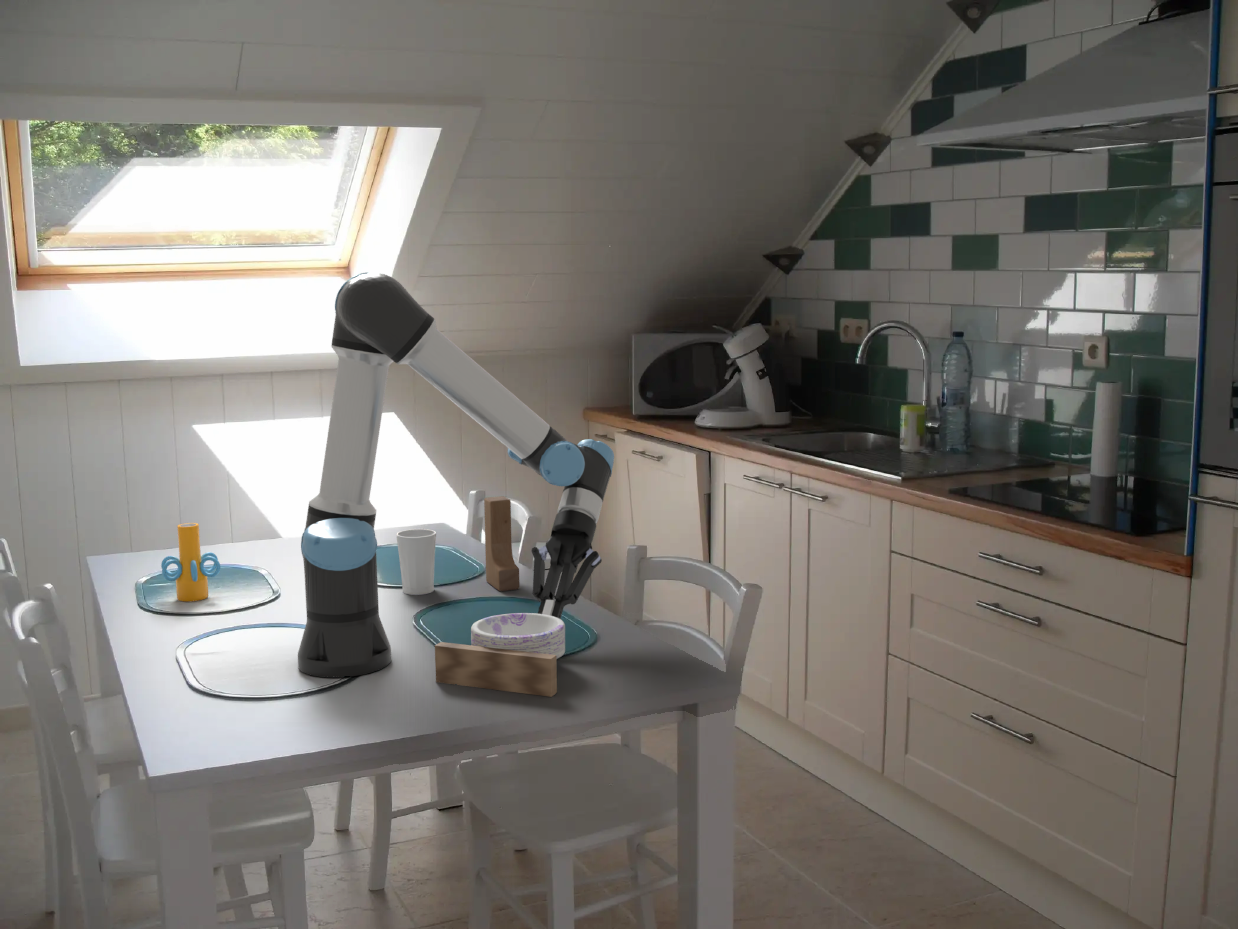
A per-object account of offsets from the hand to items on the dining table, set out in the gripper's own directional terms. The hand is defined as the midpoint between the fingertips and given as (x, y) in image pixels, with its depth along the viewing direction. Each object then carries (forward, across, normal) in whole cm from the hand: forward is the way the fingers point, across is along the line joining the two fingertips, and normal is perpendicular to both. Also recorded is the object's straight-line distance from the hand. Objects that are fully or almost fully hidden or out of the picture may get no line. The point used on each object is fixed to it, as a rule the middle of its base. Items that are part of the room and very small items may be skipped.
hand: (542, 637), depth 202 cm
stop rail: (+14, 0, +11) cm, 18 cm away
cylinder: (-5, +81, -8) cm, 82 cm away
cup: (-18, +41, -23) cm, 51 cm away
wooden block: (-24, +27, -30) cm, 47 cm away
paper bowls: (+8, 0, +4) cm, 9 cm away
